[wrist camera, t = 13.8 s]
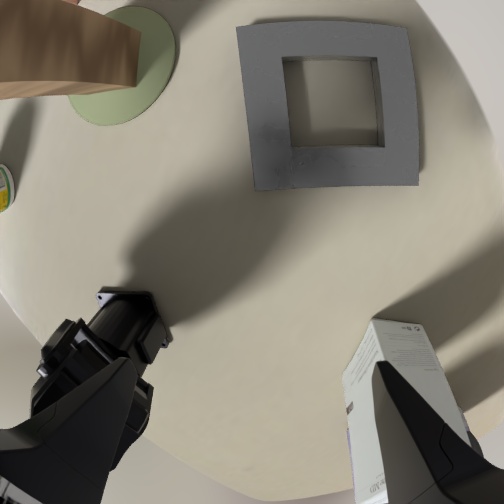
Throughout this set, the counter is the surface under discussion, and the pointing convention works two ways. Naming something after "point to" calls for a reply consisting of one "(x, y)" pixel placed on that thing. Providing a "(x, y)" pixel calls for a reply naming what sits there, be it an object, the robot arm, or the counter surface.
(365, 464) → the skincare box
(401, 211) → the counter surface
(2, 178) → the supplement bottle
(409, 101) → the hole plate
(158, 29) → the olive mat
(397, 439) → the robot arm
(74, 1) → the terracotta cubby
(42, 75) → the walnut block
